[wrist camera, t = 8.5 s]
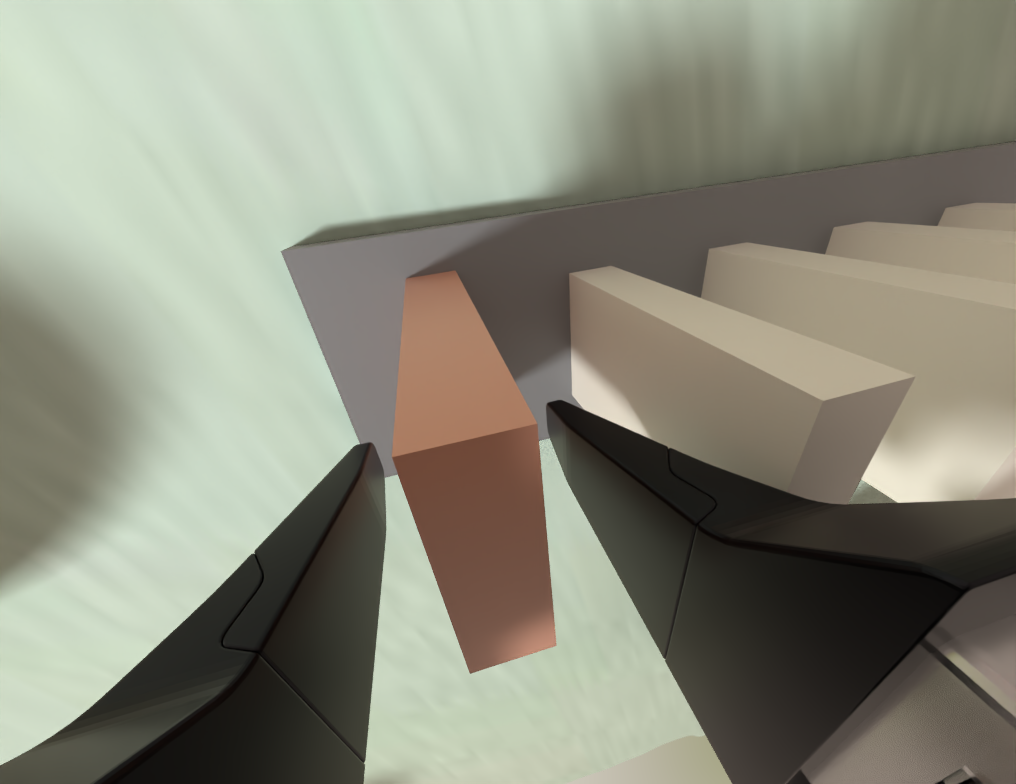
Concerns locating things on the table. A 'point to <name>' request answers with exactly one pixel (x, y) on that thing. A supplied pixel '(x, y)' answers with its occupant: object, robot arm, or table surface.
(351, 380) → the board
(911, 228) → the domino
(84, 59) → the table surface
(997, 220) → the domino
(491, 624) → the brick domino
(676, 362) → the domino
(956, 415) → the domino
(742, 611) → the robot arm
